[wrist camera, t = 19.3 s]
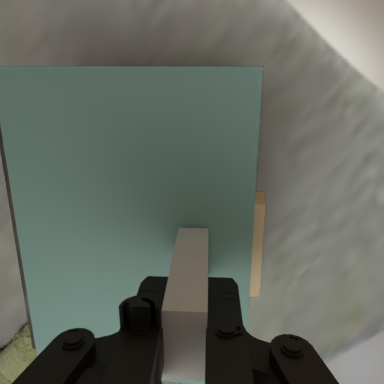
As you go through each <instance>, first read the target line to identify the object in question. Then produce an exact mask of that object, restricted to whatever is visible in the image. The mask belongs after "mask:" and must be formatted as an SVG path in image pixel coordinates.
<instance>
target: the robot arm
mask: <svg viewBox="0 0 384 384" xmlns="http://www.w3.org/2000/svg"><path fill="white" fill-rule="evenodd" d="M208 235H209V228H178V233H177V237H176V242H175V247H174V252H173V257H172V262H171V266H170V271H169V276H168V277H164V276H147V277H146V278H145V279H144V280H143V281H142V282H141V283H140V286H139V289H138V292H137V295H136V296H132V297H129V298H127V299H125V300H124V301H122V302H121V304H120V305H119V318H120V329H119V331H118V332H116V333H114V334H111V335H108V336H103V337H98V338H95V336H94V334H93V333H92V331H90V330H88V329H85V328H73V329H69V330H66V331H64V332H62V333H60V334H59V335H58V336H56V337H55V338H54V339H53V340H52V341H51V342H50V343H49V344H48V346H47V347H46V348H45V349H44V350H43V351H42V352H41V353H40V354H39V355H38V356H37V357H36V358H35V359H34V360H33V361H32V362H31V363H30V365H29V366H28V367H27V368H26V369H25V370H24V371H23V372H22V373H21V374H20V375H19V376H18V377H17V378H16V379H15V380H14V381H13V383H12V384H161V379H162V373H163V379H180V380H202V381H205V384H339V383H338V382H337V380H336V379H335V377H334V376H333V375H332V373H331V372H330V370H329V369H328V368H327V366H326V365H325V363H324V362H323V360H322V359H321V358H320V356H319V355H318V353H317V352H316V351H315V349H314V348H313V346H312V345H311V344H310V343H309V342H308V341H307V340H305V339H303V338H301V337H299V336H295V335H291V334H283V335H279V336H276V337H275V338H274V339H273V340H272V341H271V343H269V342H265V341H262V340H259V339H256V338H255V337H253V336H251V335H250V334H249V333H248V332H247V331H246V329H245V327H244V326H243V320H242V312H241V304H240V297H239V289H238V284H237V283H236V282H235V281H234V279H233V278H226V277H208Z"/></svg>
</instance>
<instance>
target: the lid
mask: <svg viewBox="0 0 384 384" xmlns="http://www.w3.org/2000/svg"><path fill="white" fill-rule="evenodd" d="M262 82H263V67H255V66H0V126H1V132H2V138H3V145H4V151H5V157H6V164H7V170H8V176H9V183H10V189H11V195H12V202H13V208H14V214H15V221H16V227H17V233H18V240H19V246H20V252H21V259H22V265H23V271H24V278H25V284H26V290H27V297H28V303H29V309H30V316H31V322H32V328H33V335H34V341H35V347H36V354H37V356H38V355H39V354H40V353H41V352H42V351H43V350H44V349H45V348H46V347H47V346H48V344H49V343H50V342H51V341H52V340H53V339H54V338H55V337H56V336H58V335H59V334H60V333H62V332H64V331H66V330H69V329H73V328H85V329H88V330H90V331H92V333H93V334H94V336H95V338H98V337H103V336H108V335H111V334H114V333H116V332H118V331H119V329H120V318H119V305H120V304H121V302H122V301H124V300H125V299H127V298H129V297H132V296H136V295H137V292H138V289H139V286H140V283H141V282H142V281H143V280H144V279H145V278H146V277H147V276H164V277H168V276H169V271H170V266H171V262H172V257H173V252H174V247H175V242H176V237H177V233H178V228H209V235H208V277H226V278H233V279H234V281H235V282H236V283H237V284H238V289H239V297H240V304H241V312H242V320H243V326H244V327H245V329H246V331H247V326H248V310H249V296H252V297H259V293H260V279H261V265H262V251H263V237H264V223H265V209H266V202H265V192H261V191H256V180H257V163H258V147H259V131H260V115H261V98H262ZM161 380H162V381H170V382H178V383H185V384H205V381H202V380H180V379H163V373H162V379H161Z"/></svg>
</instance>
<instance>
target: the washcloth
mask: <svg viewBox="0 0 384 384" xmlns="http://www.w3.org/2000/svg"><path fill="white" fill-rule="evenodd" d="M36 357H37V354H36V350H35V349H33V348H32V343H31V336H30V330H29V324H25V326H24V328H23V329H21V330H19V331H18V332H17V333H16V334H14V338H13V341H12V342H10V344H8V345H7V346H6V347H5V349H3V350H0V384H12V383H13V381H14V380H15V379H16V378H17V377H18V376H19V375H20V374H21V373H22V372H23V371H24V370H25V369H26V368H27V367H28V366H29V365H30V363H31V362H32V361H33V360H34V359H35V358H36Z"/></svg>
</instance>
